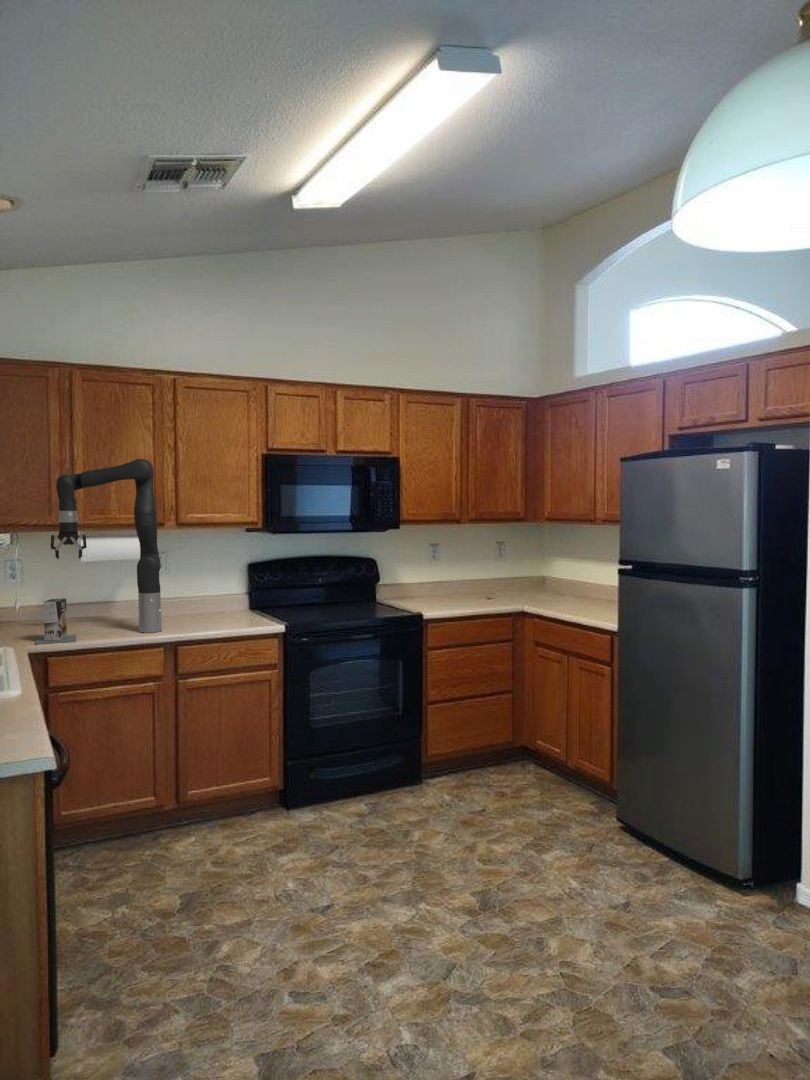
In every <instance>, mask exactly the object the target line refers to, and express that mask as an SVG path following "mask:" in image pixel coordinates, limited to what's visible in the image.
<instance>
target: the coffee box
mask: <svg viewBox="0 0 810 1080" xmlns="http://www.w3.org/2000/svg"><path fill="white" fill-rule="evenodd" d="M67 612H68V611H67V598H50V599H47V600H44V601H43V629H44V631H43V633H44V635H43V637H44V640H45V641H51V640H55V641H59V640H61V639H63V638H65V637H67V635H68V619H67V617H68V615H67V614H68V613H67Z"/></svg>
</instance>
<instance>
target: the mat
mask: <svg viewBox="0 0 810 1080" xmlns="http://www.w3.org/2000/svg"><path fill="white" fill-rule="evenodd" d="M76 642H77V635H76V634H67V637H65V638H63V639H61V640H59V641H55V640H51V641H45V640H44V636H37V637H36V640H35V645H47V644H61V643H62V644H64V643H66V644H67V643H76Z"/></svg>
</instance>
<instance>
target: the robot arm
mask: <svg viewBox="0 0 810 1080" xmlns="http://www.w3.org/2000/svg"><path fill="white" fill-rule="evenodd" d="M154 473H155V470H154V466H153V464H152V463H151V462H150V460H148V459H145V458H136V459H134V460H131V461H129V462H126V463H123V464H119V465H116V466H110V467H104V468H96V469H91V470H86V471H82V472H81V473H80V472H79V473H73V474H61V475H60V476H58V477H57V479H56V484H55V485H56V486H55V487H56V493H57V497H58V535H55V534H51V536H50V549H51V550H54V551H55V552H54V553H55V558H56V559H57V560H59V559H60V550H59V549H60V548H61V546H63V545H64V546H67V545H69V546H73V545H75V546H76V547H77V549H78V559H80V560H81V558H83V550H84V549H87V548H88V547H87V536H86V534H85V533H84V534H79V533H78V531H79V527H78V526H79V525H78V524H79V522H78V521H79V519H78V511H77V508H78V507H77V499H76V497H75V494H74V492H75V491H78V490H82V489H85V488H93V487H98V486H103V485H107V484H110V483H114V482H118V481H127V480H134V484H135V500H134V508H133V517H134V519H133V520H134V526H135V531H136V535H137V538H138V542H139V551H140V552H139V554H140V555H139V560H138V562H137V564H136V584H137V589H138V591H137V593H138V598H137V599H138V632H139V633H142V632H144V633H143V634H145V633H150V634H152V633H159V632H162V630H163V629H162V626H163V625H162V624H163V623H162V622H163V621H162V609H161V607H162V605H161V597H162V596H161V584H160V570H161V567H162V566H161V565H162V564H161V558H160V553H159V549H158V548H159V547H158V521H157V520H158V519H157V518H158V517H157V510H156V509H157V508H156V500H155V494H154V477H155V476H154V475H155V474H154ZM79 538H80V540H82V543H83V544H82V546H81V545H80V543H79V542H78V540H79ZM57 539H58V540H59V541H60V542H59V543H58V545H56V546H55V541H56V540H57Z"/></svg>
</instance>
